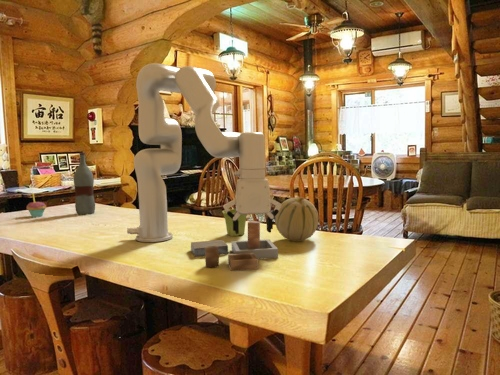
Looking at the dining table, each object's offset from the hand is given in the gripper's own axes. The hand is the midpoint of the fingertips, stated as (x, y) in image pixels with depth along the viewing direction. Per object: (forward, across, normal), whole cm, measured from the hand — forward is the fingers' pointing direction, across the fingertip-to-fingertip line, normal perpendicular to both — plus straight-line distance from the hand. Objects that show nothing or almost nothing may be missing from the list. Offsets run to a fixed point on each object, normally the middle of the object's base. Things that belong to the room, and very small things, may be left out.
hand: (252, 232), depth 122 cm
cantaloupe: (+7, +17, +14) cm, 23 cm away
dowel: (+6, 0, 0) cm, 6 cm away
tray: (+6, 0, 0) cm, 7 cm away
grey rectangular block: (+7, -13, +5) cm, 15 cm away
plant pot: (+7, -2, +28) cm, 29 cm away
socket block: (+6, -5, -12) cm, 14 cm away
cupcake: (+8, -91, +91) cm, 129 cm away
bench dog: (+7, -13, -10) cm, 17 cm away
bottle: (+8, -69, +93) cm, 116 cm away
